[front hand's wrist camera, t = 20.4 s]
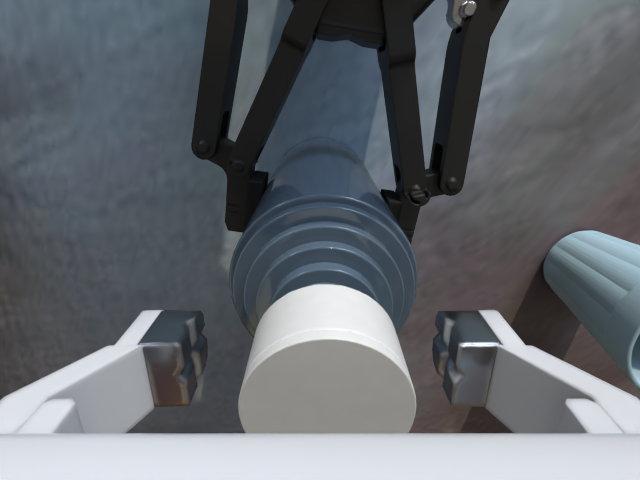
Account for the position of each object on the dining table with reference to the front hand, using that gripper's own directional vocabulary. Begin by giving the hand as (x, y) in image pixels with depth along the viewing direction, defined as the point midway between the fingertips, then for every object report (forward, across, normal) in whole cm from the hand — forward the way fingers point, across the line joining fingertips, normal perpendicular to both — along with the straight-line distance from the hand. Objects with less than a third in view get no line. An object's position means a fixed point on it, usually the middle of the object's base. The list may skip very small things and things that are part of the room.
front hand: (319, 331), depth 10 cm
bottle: (+18, 0, 0) cm, 18 cm away
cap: (-2, 0, 0) cm, 2 cm away
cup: (+18, +20, -6) cm, 28 cm away
